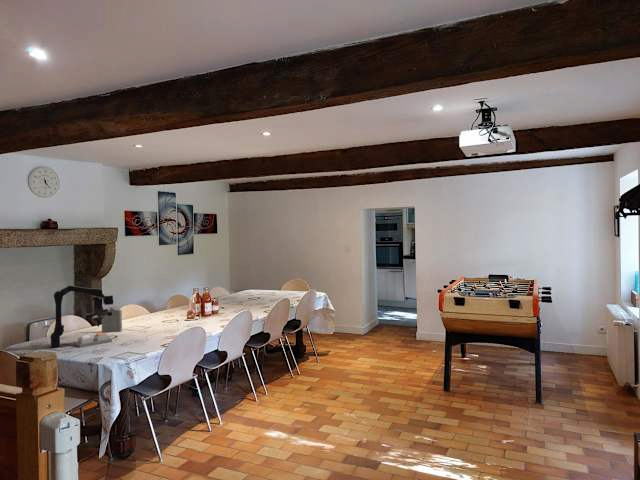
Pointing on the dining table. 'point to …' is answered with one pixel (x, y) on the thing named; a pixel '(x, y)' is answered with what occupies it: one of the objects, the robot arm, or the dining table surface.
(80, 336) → the key ivory
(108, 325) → the hip flask
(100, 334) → the key terracotta
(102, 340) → the key panel
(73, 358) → the dining table surface
